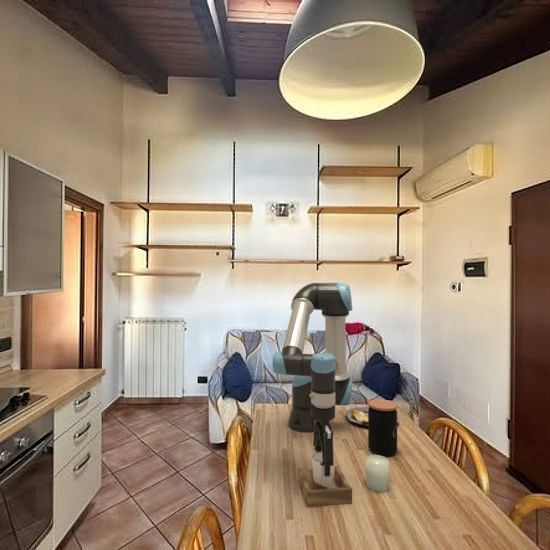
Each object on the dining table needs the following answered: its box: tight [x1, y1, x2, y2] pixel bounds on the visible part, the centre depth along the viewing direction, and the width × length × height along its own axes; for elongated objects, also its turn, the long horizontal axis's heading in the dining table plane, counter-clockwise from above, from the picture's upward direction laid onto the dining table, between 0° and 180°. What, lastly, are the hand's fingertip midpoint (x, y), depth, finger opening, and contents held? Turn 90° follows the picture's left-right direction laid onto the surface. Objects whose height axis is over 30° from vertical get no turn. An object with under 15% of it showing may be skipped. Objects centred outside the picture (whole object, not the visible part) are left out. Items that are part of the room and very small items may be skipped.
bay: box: [297, 465, 353, 508], centre depth 111 cm, size 13×13×4 cm
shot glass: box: [311, 452, 335, 485], centre depth 112 cm, size 7×7×7 cm
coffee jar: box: [367, 399, 398, 458], centre depth 139 cm, size 11×11×18 cm
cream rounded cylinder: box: [365, 454, 390, 493], centre depth 115 cm, size 7×7×8 cm
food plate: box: [344, 406, 400, 427], centre depth 170 cm, size 25×23×4 cm
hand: (322, 478), depth 112 cm, fingers closed on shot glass, 7 cm apart
